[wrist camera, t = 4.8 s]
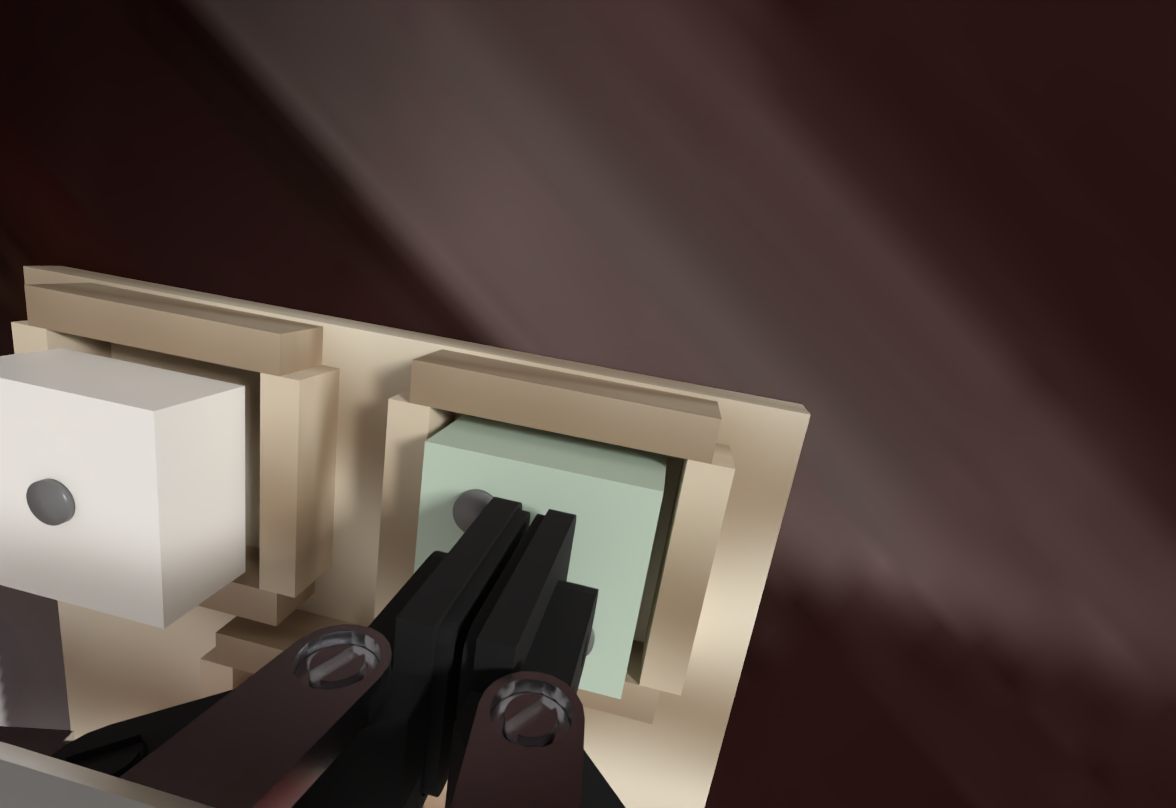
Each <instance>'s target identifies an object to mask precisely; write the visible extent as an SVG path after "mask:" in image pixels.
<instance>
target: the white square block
mask: <svg viewBox="0 0 1176 808" xmlns="http://www.w3.org/2000/svg"><path fill="white" fill-rule="evenodd" d="M243 573H245V386H243V385H238V384H233V383H228V382H224V381H219V380H214V379H209V378H204V377H199V376H195V375H190V374H185V373H180V372H175V371H170V370H166V369H161V368H156V367H151V366H146V365H141V364H137V363H132V362H127V361H122V360H117V359H112V358H108V357H103V356H98V355H93V354H88V353H83V352H79V351H74V350H69V349H64V348H58V349H50V350H43V351H35V352H28V353H21V354H13V355H6V356H0V585H2V586H6V587H10V588H14V589H17V590H21V591H25V592H28V593H32V594H36V595H40V596H43V597H47V598H51V599H55V600H58V601H62V602H66V603H69V604H73V605H77V606H81V607H84V608H88V609H92V610H95V611H99V612H103V613H107V614H110V615H114V616H118V617H122V618H125V619H129V620H133V621H136V622H140V623H144V624H148V625H151V626H155V627H159V628H163V629H165V628H166V627H168V626H169V625H170V624H172V623H173V622H175V621H176V620H178V619H179V618H180V617H182V616H183V615H185V614H186V613H188V612H189V611H190V610H192V609H193V608H195V607H196V606H198V605H199V604H200V603H202V602H203V601H205V600H206V599H208V598H209V597H210V596H212V595H213V594H215V593H216V592H218V591H219V590H220V589H222V588H223V587H225V586H226V585H228V584H229V583H230V582H232V581H233V580H235V579H236V578H237V577H239V576H240V575H242V574H243Z"/></svg>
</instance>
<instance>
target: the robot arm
mask: <svg viewBox="0 0 1176 808" xmlns="http://www.w3.org/2000/svg"><path fill="white" fill-rule="evenodd" d="M529 523H530V512H528V511H524V510H522V503H521V502H517V501H512V500H508V499H503V498H499V497H493V498H492V499H491V501H490V502H489V503H488V504H487V506H486V507H485V508H484V509H483V511H482V512H481V513H480V514H479V515H478V517H477V518H476V519H475V520H474V522H473V523H472V524H471V525H470V527H469V528H468V529H467V530H466V531H465V533H464V534H463V535H462V536H461V538H460V539H459V540H458V541H457V543H456V544H455V545H454V546H453V548H452V549H451V550H450V551H449V552H448V553H446V552H442V551H434V552H433V553H432V554H431V555H430V556H429V557H428V558H427V559H426V560H425V561H424V563H423V564H422V565H421V566H420V567H419V568H418V569H417V571H416V572H415V573H414V574H413V575H412V576H411V578H410V579H409V580H408V581H407V582H406V583H405V585H404V586H403V587H402V588H401V589H400V590H399V591H398V593H397V594H396V595H395V596H394V597H393V598H392V600H391V601H390V602H389V603H388V604H387V605H386V606H385V608H384V609H383V610H382V611H381V612H380V613H379V615H378V616H377V617H376V618H375V619H374V620H373V622H372V623H371V624H370V625H369V626H368V627H365V626H361V625H351V624H341V625H335V626H329V627H325V628H322V629H319V630H316V631H313V632H311V633H309V634H307V635H306V636H304V637H302V638H301V639H299V640H297V641H296V642H295V643H293V644H292V645H291V646H289V647H288V648H287V649H286V650H284V651H283V652H282V653H280V654H279V655H278V656H276V657H275V658H274V659H273V660H271V661H270V662H269V663H267V664H266V665H265V666H263V667H262V668H261V669H260V670H258V671H257V672H256V673H254V674H253V675H252V676H250V677H249V678H248V679H247V680H245V681H244V682H243V683H241V684H240V685H239V686H237V687H236V688H235V689H233V690H229V691H226V692H222V693H219V694H215V695H212V696H208V697H205V698H201V699H198V700H194V701H191V702H187V703H184V704H180V705H177V706H173V707H170V708H166V709H163V710H159V711H156V712H152V713H149V714H145V715H142V716H138V717H135V718H131V719H128V720H124V721H121V722H117V723H114V724H110V725H107V726H105V727H102V728H99V729H97V730H94V731H91V732H89V733H86V734H84V735H83V736H81V737H79V738H77V739H75V738H74V731H71V730H54V729H37V728H21V727H4V726H0V808H422V807H423V805H424V803H425V801H426V798H427V796H428V795H430V796H434V797H439V796H440V794H441V792H442V791H443V789H444V786H445V784H446V782H447V780H448V782H447V791H446V801H445V808H626V807H625V806H624V805H623V803H622V802H621V800H620V799H619V798H618V796H617V795H616V793H615V792H614V791H613V789H612V788H611V786H610V785H609V784H608V782H607V781H606V780H605V778H604V777H603V775H602V774H601V773H600V771H599V770H598V768H597V767H596V766H595V764H594V763H593V761H592V760H591V759H590V757H589V756H588V754H587V753H586V752H585V750H584V729H585V716H584V709H583V704H582V703H581V701H580V699H579V697H578V695H577V691H578V687H579V683H580V679H581V675H582V672H583V668H584V663H585V659H586V655H587V650H588V646H589V641H590V636H591V631H592V626H593V621H594V615H595V610H596V604H597V598H598V591H599V589H596V588H592V587H588V586H584V585H580V584H576V583H571V582H567V575H568V569H569V563H570V557H571V551H572V544H573V538H574V532H575V526H576V515H575V514H570V513H566V512H561V511H557V510H553V509H549V510H548V511H547V513H546V515H542V514H537V515H536V516H535V518H534V519H533V521H532V523H531V525H530V526H529Z"/></svg>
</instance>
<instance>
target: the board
mask: <svg viewBox="0 0 1176 808" xmlns="http://www.w3.org/2000/svg"><path fill="white" fill-rule="evenodd" d="M23 269H24V279H25V285H24V287H25V296H26V306H27V316H28V321H17V322H11V325H12V334H13V343H14V352H15V354H21V353H28V352H35V351H43V350H50V349H58V348H64V349H69V350H74V351H79V352H83V353H88V354H93V355H98V356H103V357H108V358H112V359H117V360H122V361H127V362H132V363H137V364H141V365H146V366H151V367H156V368H161V369H166V370H170V371H175V372H180V373H185V374H190V375H195V376H199V377H204V378H209V379H214V380H219V381H224V382H228V383H233V384H238V385H243V386H245V573H243V574H242V575H240V576H239V577H237V578H236V579H235V580H233V581H232V582H230V583H229V584H228V585H226V586H225V587H223V588H222V589H220V590H219V591H218V592H216V593H215V594H213V595H212V596H210V597H209V598H208V599H206V600H205V601H203V602H202V603H200V604H199V605H198V606H196V607H195V608H193V609H192V610H190V611H189V612H188V613H186V614H185V615H183V616H182V617H180V618H179V619H178V620H176V621H175V622H173V623H172V624H170V625H169V626H168V627H166V628H165V629H163V628H159V627H155V626H151V625H148V624H144V623H140V622H136V621H133V620H129V619H125V618H122V617H118V616H114V615H110V614H107V613H103V612H99V611H95V610H92V609H88V608H84V607H81V606H77V605H73V604H69V603H66V602H62V601H58V610H59V620H60V629H61V639H62V649H63V659H64V668H65V678H66V688H67V697H68V707H69V717H70V727H71V731H74V738H75V739H77V738H79V737H81V736H83V735H84V734H86V733H89V732H91V731H94V730H97V729H99V728H102V727H105V726H107V725H110V724H114V723H117V722H121V721H124V720H128V719H131V718H135V717H138V716H142V715H145V714H149V713H152V712H156V711H159V710H163V709H166V708H170V707H173V706H177V705H180V704H184V703H187V702H191V701H194V700H198V699H201V698H205V697H208V696H212V695H215V694H219V693H222V692H226V691H229V690H233V689H235V688H236V687H237V686H239V685H240V684H241V683H243V682H244V681H245V680H247V679H248V678H249V677H250V676H252V675H253V674H254V673H256V672H257V671H258V670H260V669H261V668H262V667H263V666H265V665H266V664H267V663H269V662H270V661H271V660H273V659H274V658H275V657H276V656H278V655H279V654H280V653H282V652H283V651H284V650H286V649H287V648H288V647H289V646H291V645H292V644H293V643H295V642H296V641H297V640H299V639H301V638H302V637H304V636H306V635H307V634H309V633H311V632H313V631H316V630H319V629H322V628H325V627H329V626H335V625H341V624H351V625H361V626H365V627H368V626H369V625H370V624H371V623H372V622H373V620H374V619H375V618H376V617H377V616H378V615H379V613H380V612H381V611H382V610H383V609H384V608H385V606H386V605H387V604H388V603H389V602H390V601H391V600H392V598H393V597H394V596H395V595H396V594H397V593H398V591H399V590H400V589H401V588H402V587H403V586H404V585H405V583H406V582H407V581H408V580H409V579H410V578H411V576H412V575H413V574H414V565H415V553H416V541H417V529H418V518H419V506H420V494H421V482H422V471H423V459H424V447H425V441H426V440H428V439H429V438H431V437H432V436H434V435H435V434H437V433H438V432H439V431H441V430H442V429H444V428H445V427H447V426H448V425H450V424H451V423H453V422H454V421H456V420H457V419H459V418H460V417H461V416H463V415H464V414H467V415H471V416H476V417H481V418H486V419H491V420H496V421H501V422H506V423H511V424H516V425H521V426H526V427H531V428H535V429H540V430H545V431H550V432H555V433H560V434H565V435H570V436H575V437H580V438H585V439H590V440H595V441H599V442H604V443H609V444H614V445H619V446H624V447H629V448H634V449H639V450H644V451H649V452H654V453H659V454H663V455H667V463H666V474H665V484H664V493H663V498H662V503H661V508H660V512H659V517H658V522H657V527H656V532H655V537H654V541H653V546H652V551H651V556H650V561H649V566H648V570H647V575H646V580H645V585H644V590H643V595H642V599H641V604H640V609H639V614H638V619H637V624H636V628H635V633H634V638H633V643H632V648H631V653H630V657H629V662H628V667H627V672H626V677H625V682H624V686H623V691H622V696H621V699H617V698H613V697H609V696H605V695H602V694H598V693H594V692H590V691H586V690H582V689H578V691H577V695H578V697H579V699H580V701H581V703H582V704H583V709H584V716H585V729H584V750H585V752H586V753H587V754H588V756H589V757H590V759H591V760H592V761H593V763H594V764H595V766H596V767H597V768H598V770H599V771H600V773H601V774H602V775H603V777H604V778H605V780H606V781H607V782H608V784H609V785H610V786H611V788H612V789H613V791H614V792H615V793H616V795H617V796H618V798H619V799H620V800H621V802H622V803H623V805H624V806H625V807H626V808H704V807H705V804H706V800H707V796H708V792H709V789H710V785H711V781H712V778H713V774H714V770H715V767H716V763H717V759H718V755H719V752H720V748H721V744H722V741H723V737H724V733H725V730H726V726H727V722H728V719H729V715H730V711H731V707H732V704H733V700H734V696H735V693H736V689H737V685H738V682H739V678H740V674H741V670H742V667H743V663H744V659H745V656H746V652H747V648H748V645H749V641H750V637H751V633H752V630H753V626H754V622H755V619H756V615H757V611H758V608H759V604H760V600H761V596H762V593H763V589H764V585H765V582H766V578H767V574H768V571H769V567H770V563H771V559H772V556H773V552H774V548H775V545H776V541H777V537H778V534H779V530H780V526H781V522H782V519H783V515H784V511H785V508H786V504H787V500H788V497H789V493H790V489H791V485H792V482H793V478H794V474H795V471H796V467H797V463H798V460H799V456H800V452H801V448H802V445H803V441H804V437H805V434H806V430H807V426H808V423H809V419H810V413H809V412H808V411H807V410H806V409H805V407H804V406H803V405H802V404H798V403H792V402H787V401H781V400H776V399H771V398H765V397H760V396H755V395H749V394H744V393H739V392H733V391H728V390H723V389H717V388H712V387H707V386H701V385H696V384H691V383H685V382H680V381H675V380H669V379H664V378H658V377H653V376H648V375H642V374H637V373H632V372H626V371H621V370H616V369H610V368H605V367H600V366H594V365H589V364H584V363H578V362H573V361H568V360H562V359H557V358H552V357H546V356H541V355H535V354H530V353H525V352H519V351H514V350H509V349H503V348H498V347H493V346H487V345H482V344H477V343H471V342H466V341H461V340H455V339H450V338H445V337H439V336H434V335H429V334H423V333H418V332H412V331H407V330H402V329H396V328H391V327H386V326H380V325H375V324H370V323H364V322H359V321H354V320H348V319H343V318H338V317H332V316H327V315H322V314H316V313H311V312H306V311H300V310H295V309H289V308H284V307H279V306H273V305H268V304H263V303H257V302H252V301H247V300H241V299H236V298H231V297H225V296H220V295H215V294H209V293H204V292H199V291H193V290H188V289H183V288H177V287H172V286H166V285H161V284H156V283H150V282H145V281H140V280H134V279H129V278H124V277H118V276H113V275H108V274H102V273H97V272H92V271H86V270H81V269H76V268H70V267H65V266H23ZM447 782H448V780H447ZM447 782H446V784H445V786H444V789H443V791H442V792H441V794H440V796H439V797H434V796H430V795H428V796H427V798H426V801H425V803H424V805H423V807H422V808H445V801H446V791H447Z"/></svg>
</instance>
